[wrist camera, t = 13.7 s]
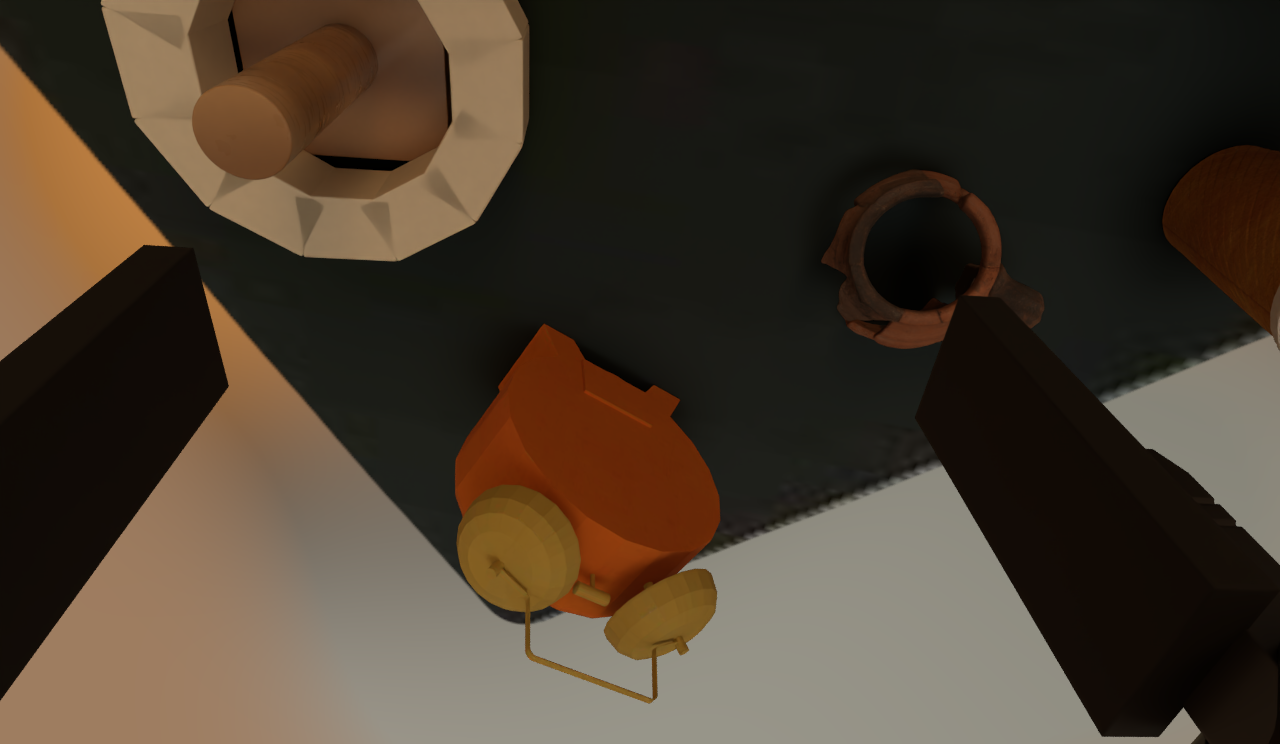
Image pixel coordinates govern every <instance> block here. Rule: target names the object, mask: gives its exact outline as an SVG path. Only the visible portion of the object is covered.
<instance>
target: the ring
mask: <svg viewBox="0 0 1280 744" xmlns="http://www.w3.org/2000/svg"><path fill="white" fill-rule="evenodd" d="M234 1H235V0H102V1H101V5H103V6H104V7H102V11H103V15H104V19H105V22H106V26H107V29H108V33H109V36H110V40H111V43H112V47H113V51H114V54H115V58H116V61H117V65H118V68H119V72H120V76H121V79H122V83H123V86H124V90H125V93H126V97H127V101H128V104H129V108H130V111H131V115H132V117H133V118H136V119H135V123H136V124H137V125H138V127H139V128H140V129H141V130H142V131H143V132H144V134H145V135H146V136H147V137H148V138H149V139H150V141H151V142H152V143H153V144H154V145H155V147H156V148H157V149H158V150H159V151H160V152H161V154H162V155H163V156H164V157H165V158H166V160H167V161H168V162H169V163H170V164H171V165H172V167H173V168H174V169H175V170H176V171H177V172H178V174H179V175H180V176H181V177H182V178H183V180H184V181H185V182H186V183H187V184H188V185H189V187H190V188H191V189H192V190H193V191H194V192H195V194H196V195H197V196H198V197H199V198H200V200H201V201H202V202H203V203H204V204H205V205H206V206H207V207H209V206H210V210H212V211H214V212H216V213H218V214H220V215H222V216H224V217H226V218H228V219H230V220H232V221H234V222H236V223H237V224H239V225H241V226H243V227H245V228H247V229H249V230H251V231H253V232H255V233H257V234H259V235H261V236H263V237H265V238H267V239H269V240H271V241H273V242H275V243H276V244H278V245H280V246H282V247H284V248H286V249H288V250H290V251H292V252H294V253H296V254H298V255H300V256H302V255H303V254H304V257H317V258H338V259H358V260H379V261H396V260H398V261H400V260H402V259H404V258H406V257H408V256H410V255H412V254H414V253H416V252H418V251H420V250H422V249H424V248H426V247H429V246H431V245H433V244H435V243H437V242H439V241H441V240H443V239H445V238H447V237H449V236H451V235H453V234H455V233H457V232H459V231H461V230H463V229H465V228H467V227H469V226H471V225H473V224H475V222H476V221H478V219H479V218H480V216H481V214H482V213H483V211H484V209H485V208H486V206H487V204H488V203H489V201H490V200H491V198H492V196H493V195H494V193H495V191H496V190H497V188H498V186H499V185H500V183H501V181H502V180H503V178H504V176H505V175H506V173H507V171H508V170H509V168H510V166H511V165H512V163H513V161H514V160H515V158H516V156H517V155H518V153H519V152H520V150H521V148H522V145H523V142H524V138H525V134H526V129H527V125H528V121H529V25H528V20H527V18H526V16H525V14H524V12H523V10H522V8H521V6H520V4H519V2H518V0H418V2H419V4H420V5H421V7H422V9H423V11H424V12H425V14H426V16H427V17H428V19H429V21H430V23H431V24H432V26H433V28H434V30H435V31H436V33H437V35H438V36H439V38H440V40H441V42H442V43H443V45H444V47H445V49H446V50H447V52H448V54H449V69H450V88H451V107H452V123H451V124H450V126H449V128H448V130H447V132H446V134H445V135H444V137H443V139H442V141H441V143H440V145H439V146H438V147H437V148H435V149H433V150H431V151H429V152H427V153H425V154H423V155H421V156H420V157H418V158H416V159H414V160H412V161H410V162H408V163H406V164H404V165H402V166H400V167H398V168H396V169H395V170H393V171H379V170H363V169H346V168H335V167H333V166H331V165H329V164H328V163H326V162H324V161H322V160H320V159H319V158H317V157H315V156H313V155H312V154H310V153H308V152H306V151H305V150H302V151H301V152H300V153H299V154H298V155H297V156H296V157H295V158H294V159H293V160H292V161H291V162H290V163H289V164H288V165H287V166H286V167H285V168H284V169H283V170H281V171H280V172H279V173H278V174H276V175H274V176H272V177H270V178H266V179H260V180H250V179H244V178H239V177H236V176H234V175H231V174H229V173H227V172H225V171H224V170H222V169H220V168H219V167H218V166H216V165H215V164H214V163H213V162H212V161H211V160H210V159H209V158H208V157H207V156H206V155H205V154H204V152H203V151H202V149H201V148H200V146H199V144H198V143H197V140H196V138H195V135H194V132H193V127H192V114H193V109H194V106H195V104H196V102H197V100H198V99H199V98H200V96H201V95H202V94H203V93H204V92H206V91H207V90H209V89H211V88H212V87H214V86H216V85H218V84H220V83H221V82H223V81H225V80H227V79H229V78H230V77H232V76H234V75H236V74H238V70H237V65H236V60H235V55H234V50H233V44H232V39H231V34H230V29H229V24H228V17H229V15H230V12H231V9H232V6H233V4H234Z"/></svg>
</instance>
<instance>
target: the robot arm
mask: <svg viewBox="0 0 1280 744" xmlns="http://www.w3.org/2000/svg"><path fill="white" fill-rule="evenodd" d="M228 386H229V385H228V381H227V378H226V374H225V369H224V366H223V362H222V358H221V354H220V350H219V346H218V342H217V339H216V335H215V331H214V327H213V323H212V319H211V316H210V311H209V307H208V304H207V300H206V296H205V292H204V288H203V284H202V280H201V276H200V272H199V268H198V265H197V261H196V257H195V253H194V249H193V248H185V247H168V246H151V245H143V246H142V247H141V248H140V249H138V250H137V251H136V252H135V253H134V254H132V255H131V256H130V257H129V258H127V259H126V260H125V261H124V262H122V263H121V264H120V265H119V266H117V267H116V268H115V269H114V270H112V271H111V272H110V273H109V274H108V275H106V276H105V277H104V278H103V279H101V280H100V281H99V282H98V283H96V284H95V285H94V286H93V287H91V288H90V289H89V290H88V291H87V292H85V293H84V294H83V295H82V296H80V297H79V298H78V299H77V300H75V301H74V302H73V303H72V304H70V305H69V306H68V307H67V308H65V309H64V310H63V311H62V312H60V313H59V314H58V315H57V316H56V317H54V318H53V319H52V320H51V321H49V322H48V323H47V324H46V325H44V326H43V327H42V328H41V329H40V330H38V331H37V332H36V333H35V334H33V335H32V336H31V337H30V338H28V339H27V340H26V341H25V342H23V343H22V344H21V345H20V346H18V347H17V348H16V349H15V350H13V351H12V352H11V353H10V354H8V355H7V356H6V357H5V358H4V359H2V360H1V361H0V700H1V699H2V698H3V696H4V695H5V693H6V692H7V691H8V689H9V688H10V687H11V685H12V684H13V682H14V681H15V680H16V678H17V677H18V676H19V674H20V673H21V671H22V670H23V669H24V667H25V666H26V665H27V663H28V662H29V660H30V659H31V658H32V656H33V655H34V653H35V652H36V651H37V649H38V648H39V647H40V645H41V644H42V643H43V641H44V640H45V638H46V637H47V636H48V634H49V633H50V632H51V630H52V629H53V627H54V626H55V625H56V623H57V622H58V621H59V619H60V618H61V616H62V615H63V614H64V612H65V611H66V610H67V608H68V607H69V605H70V604H71V603H72V601H73V600H74V599H75V597H76V596H77V594H78V593H79V591H80V590H81V589H82V587H83V586H84V585H85V583H86V582H87V581H88V579H89V578H90V576H91V575H92V574H93V572H94V571H95V570H96V568H97V567H98V566H99V564H100V563H101V561H102V560H103V559H104V557H105V556H106V555H107V553H108V552H109V550H110V549H111V548H112V546H113V545H114V544H115V542H116V541H117V539H118V538H119V537H120V535H121V534H122V532H123V531H124V530H125V528H126V527H127V525H128V524H129V523H130V521H131V520H132V519H133V517H134V516H135V514H136V513H137V512H138V510H139V509H140V508H141V506H142V505H143V504H144V502H145V501H146V500H147V498H148V497H149V495H150V494H151V493H152V491H153V490H154V489H155V487H156V486H157V484H158V483H159V482H160V480H161V479H162V478H163V476H164V475H165V473H166V472H167V471H168V469H169V468H170V467H171V465H172V464H173V462H174V461H175V460H176V458H177V457H178V456H179V454H180V453H181V451H182V450H183V449H184V447H185V446H186V444H187V443H188V442H189V440H190V439H191V437H192V436H193V435H194V433H195V432H196V431H197V429H198V428H199V427H200V425H201V424H202V423H203V421H204V420H205V418H206V417H207V416H208V414H209V413H210V412H211V410H212V409H213V407H214V406H215V405H216V403H217V402H218V401H219V399H220V398H221V396H222V395H223V394H224V392H225V391H226V389H227V388H228ZM915 419H916V420H917V422H918V424H919V426H920V427H921V429H922V431H923V432H924V434H925V436H926V437H927V439H928V441H929V443H930V444H931V446H932V448H933V449H934V451H935V453H936V455H937V456H938V458H939V460H940V461H941V463H942V465H943V466H944V468H945V470H946V472H947V473H948V475H949V477H950V478H951V480H952V482H953V484H954V485H955V487H956V488H957V490H958V492H959V494H960V495H961V497H962V499H963V500H964V502H965V504H966V506H967V507H968V509H969V511H970V512H971V514H972V516H973V518H974V519H975V521H976V523H977V524H978V526H979V528H980V530H981V531H982V533H983V535H984V536H985V538H986V540H987V541H988V543H989V545H990V547H991V548H992V550H993V552H994V553H995V555H996V557H997V558H998V560H999V562H1000V564H1001V565H1002V567H1003V569H1004V571H1005V572H1006V574H1007V576H1008V577H1009V579H1010V581H1011V582H1012V584H1013V586H1014V588H1015V589H1016V591H1017V592H1018V594H1019V596H1020V598H1021V599H1022V601H1023V603H1024V605H1025V606H1026V608H1027V610H1028V611H1029V613H1030V615H1031V617H1032V618H1033V620H1034V622H1035V623H1036V625H1037V627H1038V629H1039V630H1040V632H1041V634H1042V635H1043V637H1044V639H1045V640H1046V642H1047V644H1048V645H1049V647H1050V649H1051V651H1052V652H1053V654H1054V656H1055V658H1056V659H1057V661H1058V662H1059V664H1060V666H1061V668H1062V669H1063V671H1064V673H1065V674H1066V676H1067V678H1068V680H1069V681H1070V683H1071V685H1072V687H1073V688H1074V690H1075V692H1076V693H1077V695H1078V697H1079V698H1080V700H1081V702H1082V703H1083V705H1084V707H1085V708H1086V710H1087V712H1088V714H1089V716H1090V717H1091V719H1092V721H1093V722H1094V724H1095V726H1096V727H1097V729H1098V731H1099V732H1100V734H1101V736H1104V737H1106V736H1107V737H1108V736H1110V737H1114V736H1115V737H1159V736H1160V735H1161V734H1162V732H1163V731H1164V730H1165V729H1166V728H1167V726H1168V725H1169V724H1170V723H1171V722H1172V720H1173V719H1174V718H1175V717H1176V716H1177V714H1178V713H1179V712H1180V711H1181V709H1182V708H1183V707H1184V709H1185V710H1186V711H1187V713H1188V714H1189V716H1190V717H1191V719H1192V720H1193V721H1194V723H1195V724H1196V726H1197V727H1198V729H1199V730H1200V731H1201V733H1200V734H1199V736H1198V737H1197V738H1196V739H1195V740H1194V741H1193V742H1192V743H1191V744H1280V565H1279V564H1278V563H1277V562H1276V561H1275V560H1274V559H1273V558H1272V557H1271V556H1270V555H1269V554H1268V553H1267V552H1266V551H1265V550H1264V549H1263V548H1262V547H1261V546H1260V545H1259V544H1258V543H1257V542H1256V541H1255V540H1254V539H1253V538H1252V537H1251V536H1250V534H1249V533H1247V532H1246V530H1245V529H1243V528H1242V527H1237V526H1236V520H1235V519H1234V518H1233V517H1232V516H1230V515H1229V513H1228V512H1227V511H1226V510H1225V509H1224V508H1223V507H1222V506H1221V505H1220V504H1214V498H1213V497H1212V496H1211V495H1210V494H1209V493H1208V492H1207V491H1206V490H1205V489H1204V488H1203V487H1202V486H1201V485H1200V484H1199V483H1198V482H1197V481H1196V480H1195V479H1194V478H1193V477H1192V476H1191V475H1190V474H1189V473H1188V472H1186V471H1185V470H1183V469H1181V468H1180V467H1179V466H1177V465H1176V464H1174V463H1173V462H1171V461H1170V460H1168V459H1167V458H1165V457H1164V456H1162V455H1161V454H1159V453H1158V452H1156V451H1155V450H1153V449H1145V448H1144V447H1143V446H1142V445H1141V444H1140V443H1139V442H1138V441H1137V440H1136V439H1135V438H1134V436H1132V434H1130V432H1129V431H1128V430H1127V429H1126V428H1125V427H1124V426H1123V425H1122V424H1121V423H1120V422H1119V421H1118V420H1117V419H1116V418H1115V417H1114V416H1113V415H1112V414H1111V412H1110V411H1109V410H1108V409H1107V408H1106V407H1105V406H1104V405H1103V404H1102V403H1101V402H1100V401H1099V400H1098V399H1097V398H1096V397H1095V396H1094V395H1093V394H1092V393H1091V392H1090V391H1089V389H1088V388H1087V387H1086V386H1085V385H1084V384H1083V383H1082V382H1081V381H1080V380H1079V379H1078V378H1077V377H1076V376H1075V375H1074V374H1073V373H1072V372H1071V371H1070V370H1069V369H1068V368H1067V366H1066V365H1065V364H1064V363H1063V362H1062V361H1061V360H1060V359H1059V358H1058V357H1057V356H1056V355H1055V354H1054V353H1053V352H1052V351H1051V350H1050V349H1049V348H1048V347H1047V346H1046V345H1045V344H1044V342H1043V341H1042V340H1041V339H1040V338H1039V337H1038V336H1037V335H1036V334H1035V333H1034V332H1033V331H1032V330H1031V329H1030V328H1029V327H1028V326H1027V325H1026V324H1025V323H1024V322H1023V321H1022V320H1021V318H1020V317H1019V316H1018V315H1017V314H1016V313H1015V312H1014V311H1013V310H1012V309H1011V308H1010V307H1009V306H1008V305H1007V304H1006V303H1005V302H1004V301H1003V300H1002V299H1001V298H1000V297H985V296H969V295H959V298H958V301H957V304H956V306H955V309H954V312H953V315H952V317H951V320H950V323H949V326H948V328H947V331H946V334H945V337H944V339H943V342H942V345H941V348H940V350H939V353H938V356H937V358H936V361H935V364H934V367H933V369H932V372H931V375H930V378H929V380H928V383H927V386H926V389H925V391H924V394H923V397H922V400H921V402H920V405H919V408H918V411H917V413H916V416H915Z"/></svg>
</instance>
